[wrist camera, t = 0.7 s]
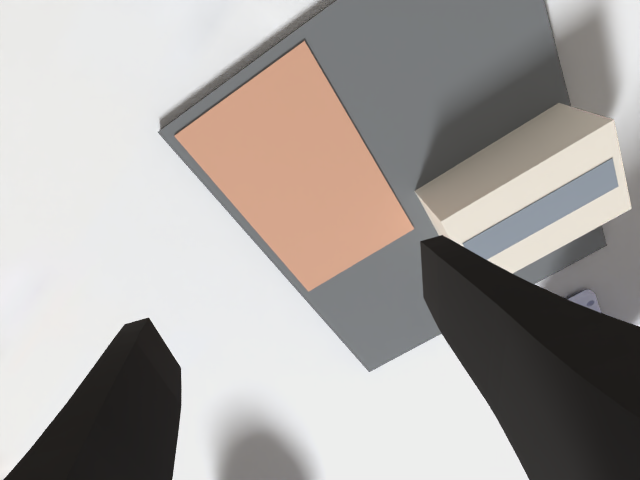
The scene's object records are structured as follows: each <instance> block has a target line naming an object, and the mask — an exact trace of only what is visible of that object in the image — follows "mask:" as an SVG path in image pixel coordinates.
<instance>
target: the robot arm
mask: <svg viewBox="0 0 640 480" xmlns="http://www.w3.org/2000/svg"><path fill="white" fill-rule="evenodd" d="M420 247H421V264H422V282H423V298H424V300H425V302H426V304H427V306H428V308H429V310H430V312H431V314H432V316H433V318H434V320H435V322H436V324H437V326H438V328H439V330H440V332H441V333H442V335H443V336H444V338H445V339H446V341H447V342H448V344H449V345H450V347H451V348H452V350H453V352H454V353H455V355H456V356H457V358H458V359H459V361H460V362H461V364H462V365H463V367H464V368H465V370H466V371H467V373H468V374H469V376H470V377H471V379H472V380H473V382H474V383H475V385H476V386H477V388H478V389H479V391H480V392H481V394H482V395H483V397H484V398H485V400H486V401H487V403H488V404H489V406H490V408H491V409H492V411H493V413H494V414H495V416H496V418H497V419H498V421H499V423H500V425H501V427H502V429H503V430H504V432H505V434H506V436H507V438H508V440H509V442H510V443H511V445H512V447H513V449H514V451H515V453H516V455H517V457H518V458H519V460H520V462H521V464H522V466H523V468H524V470H525V472H526V474H527V476H528V478H529V480H640V327H639V326H636V325H633V324H630V323H627V322H624V321H621V320H619V319H616V318H613V317H610V316H608V315H605V314H602V313H601V310H600V307H599V304H598V300H597V297H596V294H595V293H594V292H593V291H592V290H585V291H582V292H580V293H578V294H577V295H575V296H573V297H571V298H569V299H565V298H563V297H560V296H558V295H556V294H554V293H552V292H550V291H547V290H545V289H543V288H541V287H539V286H537V285H534V284H532V283H530V282H528V281H526V280H524V279H522V278H520V277H518V276H516V275H514V274H512V273H510V272H508V271H507V270H505V269H503V268H501V267H499V266H497V265H495V264H493V263H492V262H490V261H488V260H486V259H484V258H483V257H481V256H479V255H477V254H475V253H474V252H472V251H470V250H468V249H467V248H465V247H463V246H461V245H460V244H458V243H456V242H454V241H452V240H451V239H449V238H447V237H445V236H443V235H440V236H437V237H433V238H430V239H426V240H423V241H420ZM180 412H181V367H180V366H179V364H178V363H177V361H176V360H175V358H174V356H173V355H172V353H171V352H170V350H169V349H168V347H167V345H166V344H165V342H164V341H163V339H162V338H161V336H160V334H159V333H158V331H157V330H156V328H155V327H154V325H153V323H152V322H151V320H150V319H149V318H146V319H142V320H139V321H135V322H132V323H128V324H125V325H124V326H123V327H122V329H121V330H120V331H119V333H118V334H117V335H116V336H115V338H114V339H113V341H112V342H111V343H110V345H109V346H108V347H107V349H106V350H105V352H104V353H103V354H102V356H101V357H100V358H99V360H98V361H97V363H96V364H95V365H94V367H93V368H92V370H91V371H90V372H89V374H88V375H87V376H86V378H85V379H84V380H83V382H82V383H81V384H80V386H79V387H78V389H77V390H76V391H75V393H74V394H73V395H72V397H71V398H70V399H69V401H68V402H67V403H66V405H65V406H64V407H63V408H62V410H61V411H60V412H59V413H58V415H57V416H56V417H55V418H54V420H53V421H52V422H51V424H50V425H49V426H48V427H47V429H46V430H45V431H44V432H43V434H42V435H41V436H40V437H39V439H38V440H37V441H36V442H35V444H34V445H33V446H32V447H31V449H30V450H29V451H28V452H27V453H26V455H25V456H24V457H23V458H22V459H21V460H20V462H19V463H18V464H17V465H16V466H15V467H14V468H13V470H12V471H11V472H10V473H9V474H8V475H7V476H6V477H5V479H4V480H172V477H173V469H174V461H175V453H176V446H177V438H178V430H179V421H180Z"/></svg>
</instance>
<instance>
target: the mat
mask: <svg viewBox="0 0 640 480" xmlns="http://www.w3.org/2000/svg"><path fill="white" fill-rule="evenodd" d="M557 103H561V104H565V105H568V106H571V104H570V101H569V97H568V93H567V89H566V85H565V81H564V77H563V73H562V69H561V65H560V61H559V58H558V54H557V50H556V46H555V42H554V38H553V34H552V30H551V26H550V22H549V19H548V15H547V11H546V7H545V3H544V0H335V1H334V2H333V3H331V4H330V5H329V6H327V7H326V8H325V9H323V10H322V11H321V12H319V13H318V14H316V15H315V16H314V17H312V18H311V19H310V20H308V21H307V22H306V23H304V24H303V25H302V26H300V27H299V28H298V29H296V30H295V31H293V32H292V33H291V34H289V35H288V36H287V37H285V38H284V39H283V40H281V41H280V42H279V43H277V44H276V45H275V46H273V47H272V48H270V49H269V50H268V51H266V52H265V53H264V54H262V55H261V56H260V57H258V58H257V59H256V60H254V61H253V62H252V63H250V64H249V65H247V66H246V67H245V68H243V69H242V70H241V71H239V72H238V73H237V74H235V75H234V76H233V77H231V78H230V79H229V80H227V81H226V82H224V83H223V84H222V85H220V86H219V87H218V88H216V89H215V90H214V91H212V92H211V93H210V94H208V95H207V96H205V97H204V98H203V99H201V100H200V101H199V102H197V103H196V104H195V105H193V106H192V107H191V108H189V109H188V110H187V111H185V112H184V113H182V114H181V115H180V116H178V117H177V118H176V119H174V120H173V121H172V122H170V123H169V124H168V125H166V126H165V127H164V128H162V129H161V130H160V131H159V132H158V133H159V134H160V135H161V137H162V138H163V139H164V140H165V141H166V142H167V143H168V144H169V146H170V147H171V148H172V149H173V150H174V151H175V152H176V154H177V155H178V156H179V157H180V158H181V159H182V160H183V161H184V163H185V164H186V165H187V166H188V167H189V168H190V169H191V171H192V172H193V173H194V174H195V175H196V176H197V177H198V178H199V180H200V181H201V182H202V183H203V184H204V185H205V186H206V188H207V189H208V190H209V191H210V192H211V193H212V194H213V195H214V197H215V198H216V199H217V200H218V201H219V202H220V203H221V205H222V206H223V207H224V208H225V209H226V210H227V211H228V212H229V214H230V215H231V216H232V217H233V218H234V219H235V220H236V222H237V223H238V224H239V225H240V226H241V227H242V228H243V229H244V231H245V232H246V233H247V234H248V235H249V236H250V237H251V239H252V240H253V241H254V242H255V243H256V244H257V245H258V246H259V248H260V249H261V250H262V251H263V252H264V253H265V254H266V256H267V257H268V258H269V259H270V260H271V261H272V262H273V263H274V265H275V266H276V267H277V268H278V269H279V270H280V271H281V273H282V274H283V275H284V276H285V277H286V278H287V279H288V280H289V282H290V283H291V284H292V285H293V286H294V287H295V288H296V290H297V291H298V292H299V293H300V294H301V295H302V296H303V297H304V299H305V300H306V301H307V302H308V303H309V304H310V305H311V307H312V308H313V309H314V310H315V311H316V312H317V313H318V314H319V316H320V317H321V318H322V319H323V320H324V321H325V322H326V324H327V325H328V326H329V327H330V328H331V329H332V330H333V331H334V333H335V334H336V335H337V336H338V337H339V338H340V339H341V341H342V342H343V343H344V344H345V345H346V346H347V347H348V348H349V350H350V351H351V352H352V353H353V354H354V355H355V356H356V358H357V359H358V360H359V361H360V362H361V363H362V364H363V366H364V367H365V368H366V369H367V370H368V371H369V372H370V371H372V370H374V369H376V368H378V367H380V366H381V365H383V364H385V363H387V362H389V361H391V360H393V359H395V358H397V357H398V356H400V355H402V354H404V353H406V352H408V351H410V350H412V349H413V348H415V347H417V346H419V345H421V344H423V343H425V342H427V341H428V340H430V339H432V338H434V337H436V336H438V335H440V334H442V333H441V332H440V330H439V328H438V326H437V324H436V322H435V320H434V318H433V316H432V314H431V312H430V310H429V308H428V306H427V304H426V302H425V300H424V298H423V282H422V264H421V247H420V241H423V240H426V239H430V238H433V237H437V236H439V235H438V233H437V231H436V229H435V227H434V226H433V224H432V222H431V220H430V218H429V216H428V215H427V213H426V211H425V209H424V207H423V205H422V204H421V202H420V200H419V198H418V196H417V194H416V193H415V190H417V189H419V188H420V187H422V186H424V185H425V184H427V183H429V182H430V181H432V180H433V179H435V178H437V177H438V176H440V175H442V174H443V173H445V172H446V171H448V170H450V169H451V168H453V167H455V166H456V165H458V164H460V163H461V162H463V161H464V160H466V159H468V158H469V157H471V156H473V155H474V154H476V153H477V152H479V151H481V150H482V149H484V148H486V147H487V146H489V145H491V144H492V143H494V142H495V141H497V140H499V139H500V138H502V137H504V136H505V135H507V134H509V133H510V132H512V131H513V130H515V129H517V128H518V127H520V126H522V125H523V124H525V123H526V122H528V121H530V120H531V119H533V118H535V117H536V116H538V115H540V114H541V113H543V112H544V111H546V110H548V109H549V108H551V107H553V106H554V105H556V104H557ZM605 246H607V245H606V241H605V237H604V233H603V229H602V225H601V226H599V227H597V228H595V229H594V230H592V231H590V232H588V233H586V234H584V235H583V236H581V237H579V238H577V239H575V240H573V241H571V242H570V243H568V244H566V245H564V246H562V247H560V248H559V249H557V250H555V251H553V252H551V253H549V254H548V255H546V256H544V257H542V258H540V259H538V260H537V261H535V262H533V263H531V264H529V265H527V266H525V267H524V268H522V269H520V270H518V271H516V272H514V273H513V274H514V275H516V276H518V277H520V278H522V279H524V280H526V281H528V282H530V283H532V284H535V283H537V282H539V281H541V280H543V279H545V278H547V277H548V276H550V275H552V274H554V273H556V272H558V271H560V270H562V269H564V268H565V267H567V266H569V265H571V264H573V263H575V262H577V261H579V260H580V259H582V258H584V257H586V256H588V255H590V254H592V253H594V252H595V251H597V250H599V249H601V248H603V247H605Z"/></svg>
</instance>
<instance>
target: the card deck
mask: <svg viewBox="0 0 640 480" xmlns="http://www.w3.org/2000/svg"><path fill="white" fill-rule="evenodd" d="M415 193H416V194H417V196H418V198H419V200H420V202H421V204H422V205H423V207H424V209H425V211H426V213H427V215H428V216H429V218H430V220H431V222H432V224H433V226H434V227H435V229H436V231H437V233H438V235H439V236H440V235H443V236H445V237H447V238H449V239H451V240H452V241H454V242H456V243H458V244H460V245H461V246H463V247H465V248H467V249H468V250H470V251H472V252H474V253H475V254H477V255H479V256H481V257H483V258H484V259H486V260H488V261H490V262H492V263H493V264H495V265H497V266H499V267H501V268H503V269H505V270H507V271H508V272H510V273H512V274H513V273H514V272H516V271H518V270H520V269H522V268H524V267H525V266H527V265H529V264H531V263H533V262H535V261H537V260H538V259H540V258H542V257H544V256H546V255H548V254H549V253H551V252H553V251H555V250H557V249H559V248H560V247H562V246H564V245H566V244H568V243H570V242H571V241H573V240H575V239H577V238H579V237H581V236H583V235H584V234H586V233H588V232H590V231H592V230H594V229H595V228H597V227H599V226H601V225H603V224H605V223H606V222H608V221H610V220H612V219H614V218H616V217H617V216H619V215H621V214H623V213H625V212H627V211H629V210H630V209H632V207H631V202H630V197H629V192H628V187H627V182H626V177H625V172H624V167H623V162H622V157H621V152H620V147H619V142H618V137H617V132H616V127H615V121H614V119H611V118H607V117H604V116H601V115H597V114H594V113H591V112H588V111H584V110H581V109H578V108H575V107H571V106H568V105H565V104H561V103H557V104H556V105H554V106H553V107H551V108H549V109H548V110H546V111H544V112H543V113H541V114H540V115H538V116H536V117H535V118H533V119H531V120H530V121H528V122H526V123H525V124H523V125H522V126H520V127H518V128H517V129H515V130H513V131H512V132H510V133H509V134H507V135H505V136H504V137H502V138H500V139H499V140H497V141H495V142H494V143H492V144H491V145H489V146H487V147H486V148H484V149H482V150H481V151H479V152H477V153H476V154H474V155H473V156H471V157H469V158H468V159H466V160H464V161H463V162H461V163H460V164H458V165H456V166H455V167H453V168H451V169H450V170H448V171H446V172H445V173H443V174H442V175H440V176H438V177H437V178H435V179H433V180H432V181H430V182H429V183H427V184H425V185H424V186H422V187H420V188H419V189H417V190H415Z"/></svg>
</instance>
